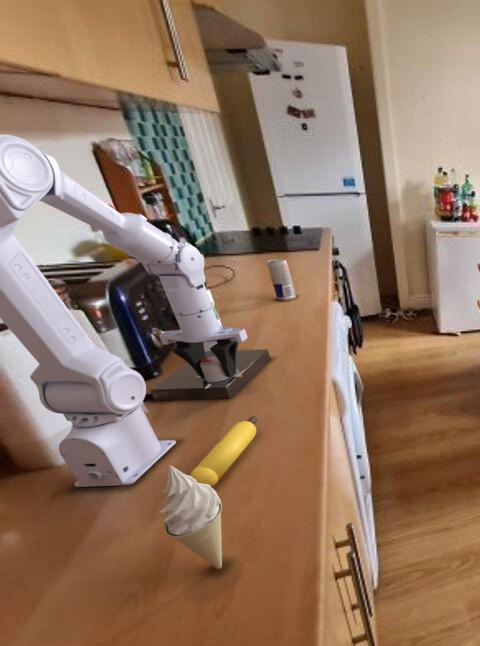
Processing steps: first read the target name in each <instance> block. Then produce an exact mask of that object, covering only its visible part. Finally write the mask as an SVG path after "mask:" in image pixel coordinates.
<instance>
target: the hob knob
mask: <svg viewBox="0 0 480 646" xmlns="http://www.w3.org/2000/svg"><path fill="white" fill-rule="evenodd" d="M200 367H201V369H202V372H203V374H204V377H205V379H206V381H207V382H219V381H223V380H225V379H227V378H229V377H227V376H226V375H225V373H224V371H223V368H222V366H221V364H220V362H219V360H218V359H217V357H216V356H215V357H210V358H207V359H202V360H201V363H200Z"/></svg>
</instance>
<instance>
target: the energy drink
mask: <svg viewBox="0 0 480 646" xmlns="http://www.w3.org/2000/svg"><path fill="white" fill-rule="evenodd" d="M266 263H267V264H266V266H267V269H268V273H269V276H270V279H271V282H272V287H273V290H274V293H275V297H276V300H278V301H280V302H286V301H291V300H294V299H295V298H296V297H297V295H296V291H295V287H294V283H293V279H292V276H291V272H290V268H289V265H288V261H287V260H286V258H283V257H281V258H280V257H279V258H272V259H268V260H267V262H266Z"/></svg>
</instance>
